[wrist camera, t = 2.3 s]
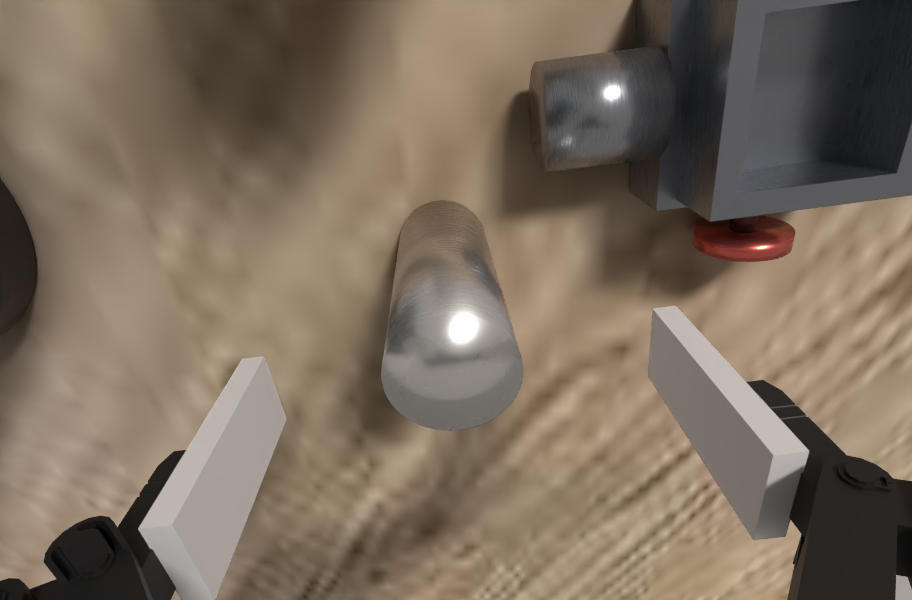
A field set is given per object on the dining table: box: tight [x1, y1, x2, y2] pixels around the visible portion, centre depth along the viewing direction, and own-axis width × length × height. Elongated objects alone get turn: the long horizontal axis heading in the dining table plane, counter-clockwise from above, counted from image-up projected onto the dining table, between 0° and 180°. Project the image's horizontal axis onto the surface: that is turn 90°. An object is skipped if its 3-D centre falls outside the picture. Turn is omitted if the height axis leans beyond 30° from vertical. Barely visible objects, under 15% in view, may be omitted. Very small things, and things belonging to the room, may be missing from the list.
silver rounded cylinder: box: [381, 200, 523, 430], centre depth 21 cm, size 5×5×12 cm
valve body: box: [529, 0, 912, 262], centre depth 22 cm, size 15×12×6 cm
